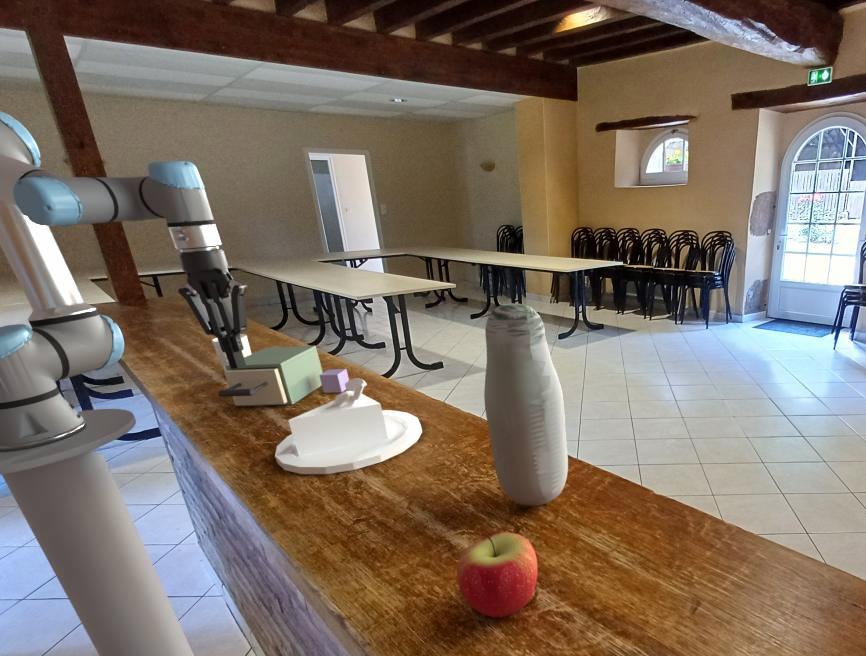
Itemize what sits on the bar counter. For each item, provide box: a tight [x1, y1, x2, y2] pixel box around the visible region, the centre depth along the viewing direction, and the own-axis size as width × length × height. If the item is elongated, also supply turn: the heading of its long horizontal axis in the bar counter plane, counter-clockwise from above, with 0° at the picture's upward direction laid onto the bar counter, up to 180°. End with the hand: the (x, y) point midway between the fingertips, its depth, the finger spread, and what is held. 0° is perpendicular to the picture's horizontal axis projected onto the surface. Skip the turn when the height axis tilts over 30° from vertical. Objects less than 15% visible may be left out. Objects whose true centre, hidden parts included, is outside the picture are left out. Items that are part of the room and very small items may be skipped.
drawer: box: [217, 367, 287, 407], centre depth 124 cm, size 20×11×8 cm, turn 177°
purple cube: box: [319, 368, 350, 394], centre depth 130 cm, size 4×4×4 cm
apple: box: [456, 532, 538, 618], centre depth 58 cm, size 8×8×10 cm
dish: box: [274, 377, 423, 475], centre depth 100 cm, size 25×25×11 cm
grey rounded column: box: [483, 303, 569, 507], centre depth 74 cm, size 10×10×28 cm
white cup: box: [211, 333, 252, 372], centre depth 146 cm, size 8×8×10 cm
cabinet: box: [226, 345, 324, 407], centre depth 128 cm, size 15×13×10 cm
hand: (238, 366), depth 115 cm, fingers closed
